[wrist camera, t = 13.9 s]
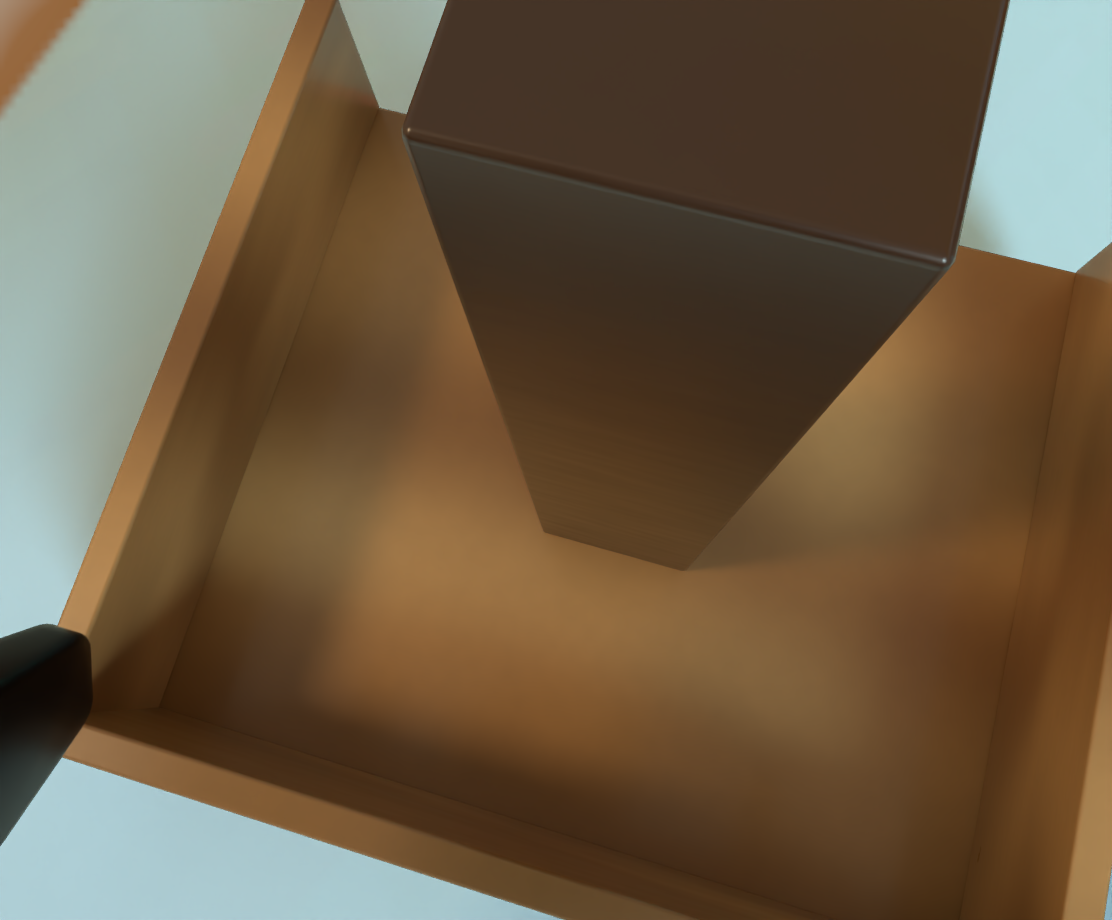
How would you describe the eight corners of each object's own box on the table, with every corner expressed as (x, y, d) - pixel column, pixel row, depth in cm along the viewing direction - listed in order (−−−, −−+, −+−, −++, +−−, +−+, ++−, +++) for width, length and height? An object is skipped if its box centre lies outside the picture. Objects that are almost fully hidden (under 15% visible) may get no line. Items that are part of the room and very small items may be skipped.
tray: (963, 988, 14) (2928, 2661, 2) (139, 726, 16) (-1369, 899, 4) (1086, 291, 17) (2348, -692, 5) (363, 119, 18) (-96, -979, 6)
